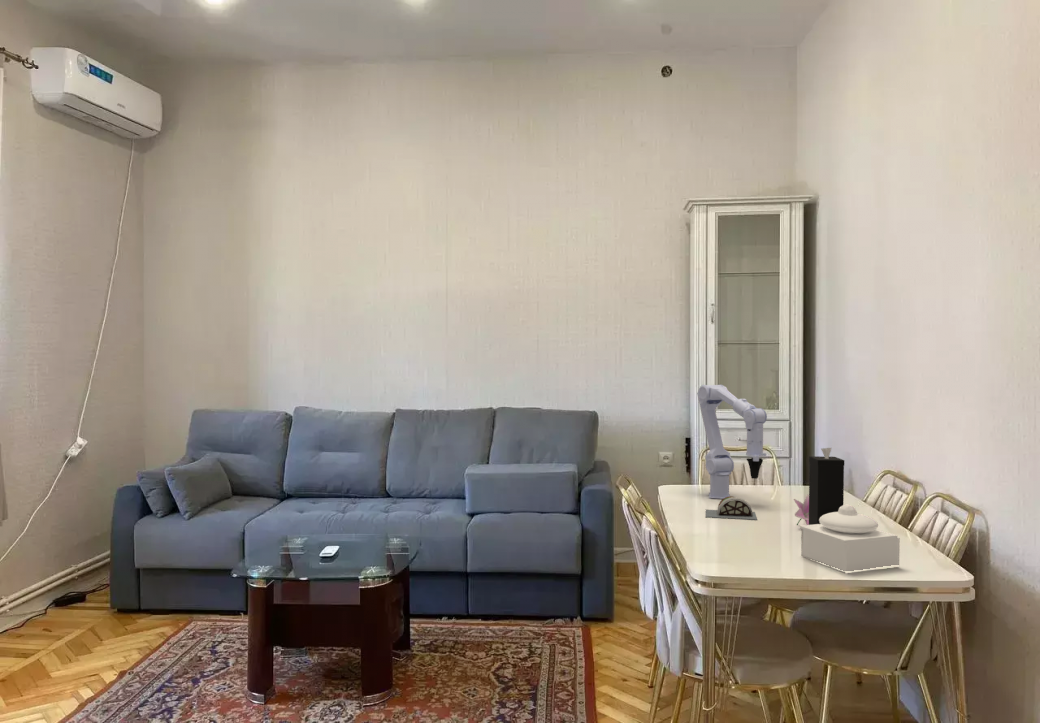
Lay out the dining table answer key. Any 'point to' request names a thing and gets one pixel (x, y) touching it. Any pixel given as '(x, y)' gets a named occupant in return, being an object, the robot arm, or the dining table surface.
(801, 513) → the lily
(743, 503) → the food container
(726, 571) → the dining table surface
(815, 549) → the butter dish
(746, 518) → the mat
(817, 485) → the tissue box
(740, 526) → the dining table surface
